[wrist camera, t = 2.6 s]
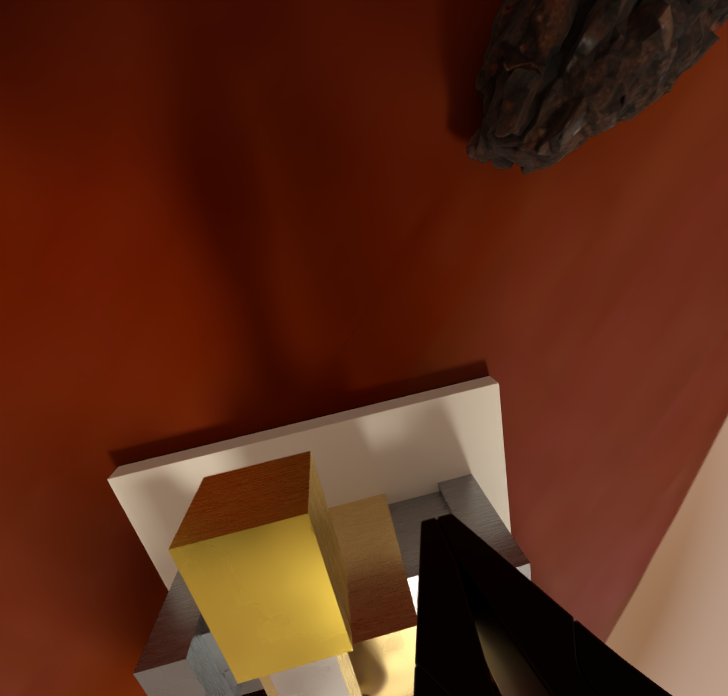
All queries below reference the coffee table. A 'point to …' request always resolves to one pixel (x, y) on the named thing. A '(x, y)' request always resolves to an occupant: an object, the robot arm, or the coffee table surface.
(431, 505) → the blocks
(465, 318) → the coffee table surface
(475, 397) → the mounting board
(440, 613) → the robot arm
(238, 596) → the valve lever
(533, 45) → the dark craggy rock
